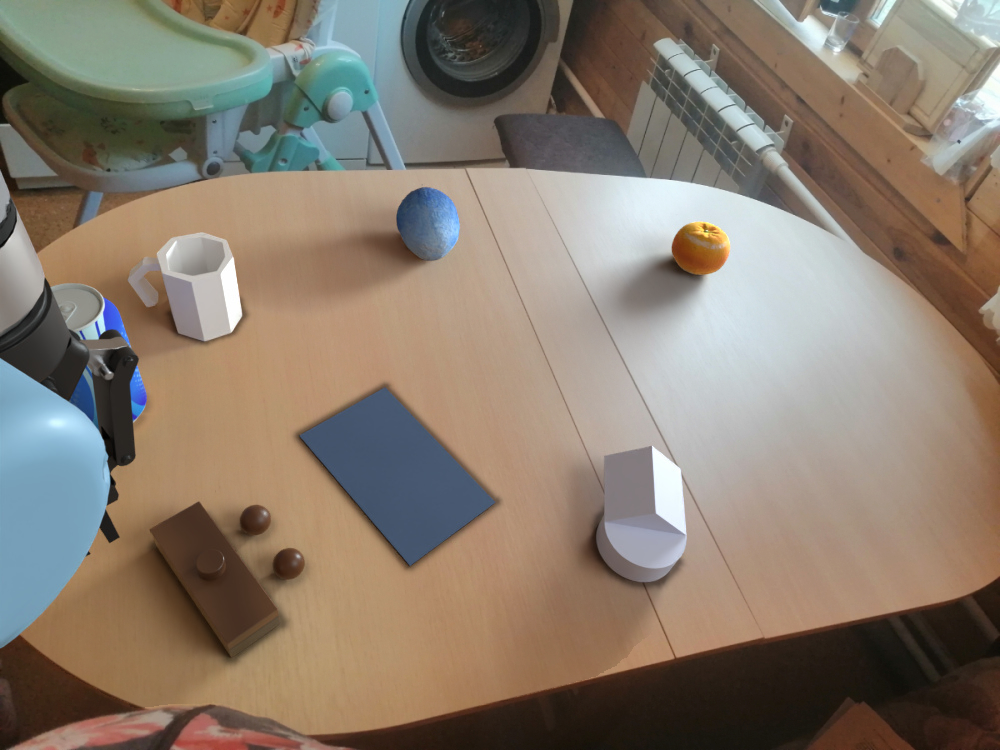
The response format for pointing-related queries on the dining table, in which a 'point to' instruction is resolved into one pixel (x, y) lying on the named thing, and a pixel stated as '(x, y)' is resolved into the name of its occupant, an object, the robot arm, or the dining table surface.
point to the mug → (194, 284)
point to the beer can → (89, 321)
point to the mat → (397, 474)
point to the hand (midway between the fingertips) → (91, 534)
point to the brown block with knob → (216, 578)
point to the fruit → (700, 248)
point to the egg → (428, 223)
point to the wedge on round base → (642, 514)
